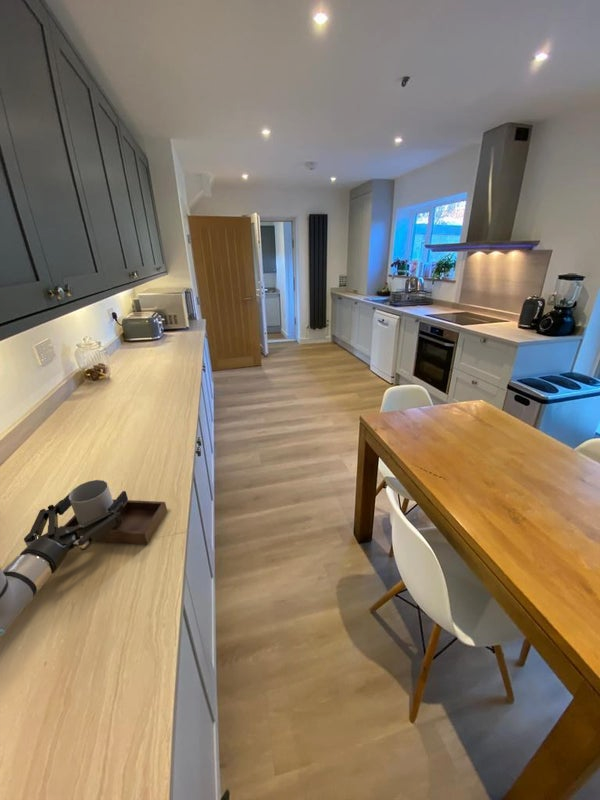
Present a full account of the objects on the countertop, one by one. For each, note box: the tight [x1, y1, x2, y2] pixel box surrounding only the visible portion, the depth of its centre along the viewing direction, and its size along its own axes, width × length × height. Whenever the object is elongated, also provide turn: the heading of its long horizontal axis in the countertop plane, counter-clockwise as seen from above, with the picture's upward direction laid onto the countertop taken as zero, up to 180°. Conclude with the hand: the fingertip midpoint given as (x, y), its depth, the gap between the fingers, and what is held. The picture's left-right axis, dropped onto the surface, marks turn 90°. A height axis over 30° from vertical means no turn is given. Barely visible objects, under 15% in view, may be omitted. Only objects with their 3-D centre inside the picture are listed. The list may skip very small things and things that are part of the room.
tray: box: [63, 498, 168, 545], centre depth 84 cm, size 21×11×4 cm, turn 86°
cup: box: [68, 479, 113, 525], centre depth 82 cm, size 8×8×10 cm
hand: (101, 493), depth 85 cm, fingers open, 13 cm apart
